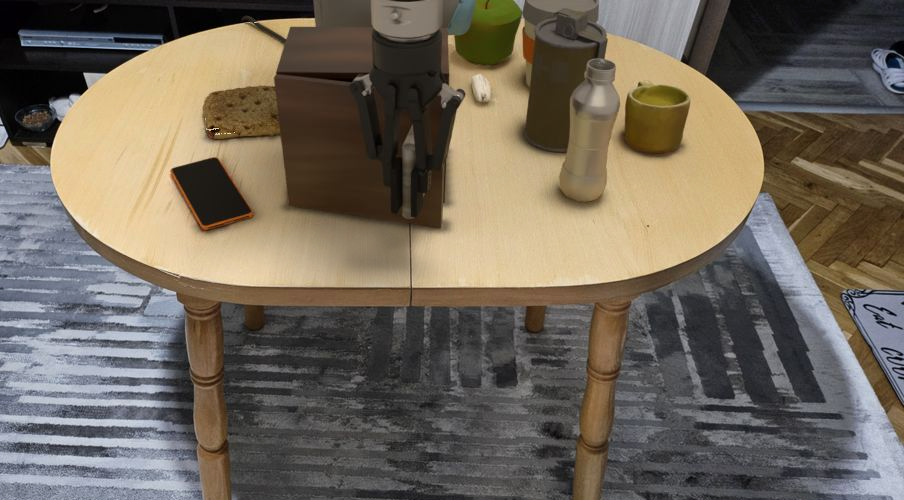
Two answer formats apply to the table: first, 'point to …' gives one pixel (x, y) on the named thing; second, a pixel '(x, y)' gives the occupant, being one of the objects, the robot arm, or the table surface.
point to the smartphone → (211, 193)
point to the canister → (559, 74)
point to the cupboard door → (346, 153)
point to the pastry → (242, 112)
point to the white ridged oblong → (481, 88)
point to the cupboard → (338, 55)
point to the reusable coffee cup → (540, 8)
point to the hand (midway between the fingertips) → (407, 209)
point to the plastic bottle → (590, 132)
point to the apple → (490, 32)
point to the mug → (655, 117)
